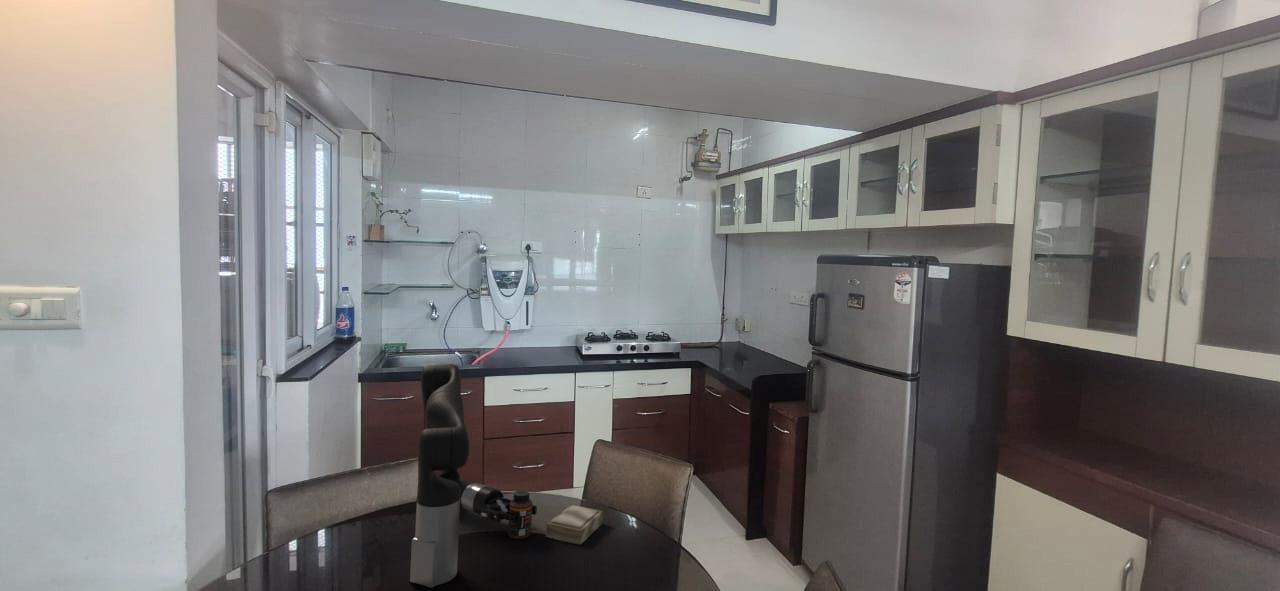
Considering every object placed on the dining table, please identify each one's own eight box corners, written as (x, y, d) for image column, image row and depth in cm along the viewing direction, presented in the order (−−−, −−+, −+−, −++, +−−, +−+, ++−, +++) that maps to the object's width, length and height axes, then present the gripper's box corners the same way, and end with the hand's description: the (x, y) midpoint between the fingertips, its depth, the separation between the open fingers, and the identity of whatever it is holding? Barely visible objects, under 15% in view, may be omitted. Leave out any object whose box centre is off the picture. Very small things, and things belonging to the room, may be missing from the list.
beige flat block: (580, 544, 137) (581, 529, 137) (546, 537, 141) (547, 522, 141) (602, 523, 150) (602, 509, 150) (570, 517, 154) (571, 503, 154)
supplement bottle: (528, 540, 138) (530, 497, 138) (505, 539, 138) (507, 496, 138) (533, 530, 144) (535, 489, 144) (511, 529, 144) (513, 488, 144)
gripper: (462, 494, 142) (509, 509, 134) (501, 479, 155) (546, 492, 146) (461, 522, 142) (507, 539, 134) (500, 504, 155) (544, 519, 146)
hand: (527, 514), depth 140 cm, fingers closed on supplement bottle, 6 cm apart
